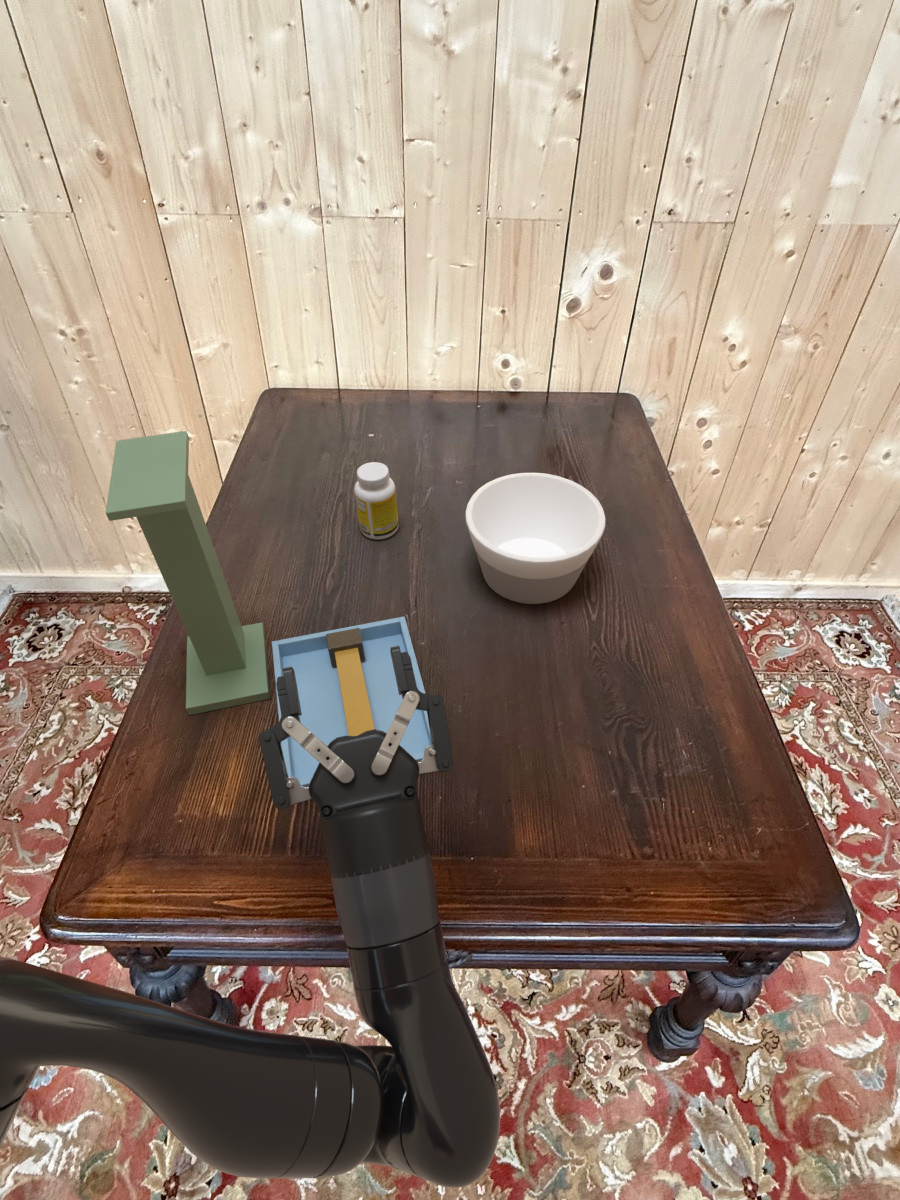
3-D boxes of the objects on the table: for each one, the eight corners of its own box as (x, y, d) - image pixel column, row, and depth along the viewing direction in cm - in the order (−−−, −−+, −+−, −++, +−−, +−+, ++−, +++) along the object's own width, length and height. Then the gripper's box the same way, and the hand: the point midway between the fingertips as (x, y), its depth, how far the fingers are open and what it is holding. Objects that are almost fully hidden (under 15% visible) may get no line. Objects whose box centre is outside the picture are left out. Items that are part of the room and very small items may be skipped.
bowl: (568, 635, 94) (578, 579, 86) (442, 591, 100) (441, 535, 92) (611, 549, 106) (623, 493, 98) (496, 514, 112) (499, 458, 104)
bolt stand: (189, 715, 86) (87, 515, 62) (190, 643, 94) (100, 442, 70) (270, 698, 87) (201, 498, 64) (264, 629, 95) (201, 428, 72)
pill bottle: (404, 519, 111) (399, 462, 103) (391, 544, 107) (385, 486, 99) (367, 512, 112) (360, 455, 104) (354, 537, 108) (345, 480, 100)
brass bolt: (348, 772, 77) (344, 753, 74) (329, 651, 92) (325, 633, 90) (387, 763, 77) (384, 745, 75) (362, 645, 92) (359, 627, 90)
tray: (290, 802, 78) (285, 788, 75) (276, 656, 92) (271, 641, 90) (442, 767, 80) (442, 753, 78) (405, 631, 95) (404, 616, 92)
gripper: (480, 850, 49) (432, 631, 53) (279, 901, 47) (242, 668, 50) (466, 840, 56) (425, 648, 60) (291, 884, 54) (258, 682, 58)
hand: (341, 658), depth 55 cm, fingers open, 8 cm apart
